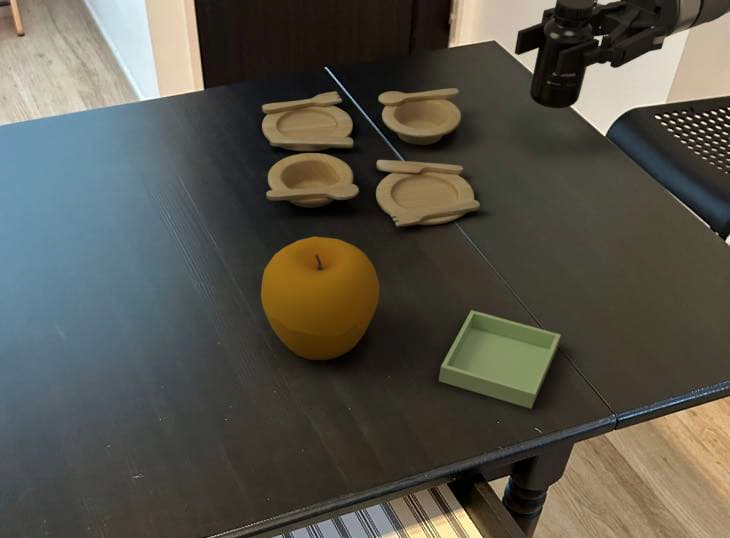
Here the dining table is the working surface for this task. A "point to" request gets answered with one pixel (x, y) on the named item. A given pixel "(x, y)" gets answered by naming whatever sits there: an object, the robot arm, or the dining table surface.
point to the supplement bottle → (557, 37)
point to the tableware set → (396, 191)
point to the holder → (500, 358)
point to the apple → (320, 296)
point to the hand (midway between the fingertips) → (538, 53)
